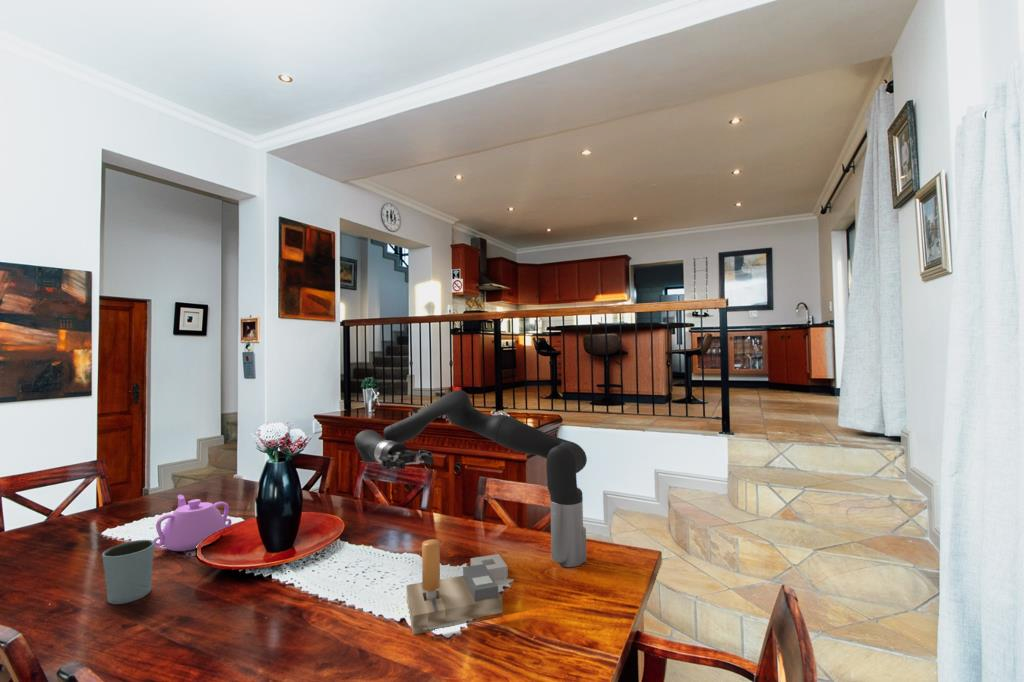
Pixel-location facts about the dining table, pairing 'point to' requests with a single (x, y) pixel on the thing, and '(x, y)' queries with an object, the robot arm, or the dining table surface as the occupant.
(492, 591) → the block
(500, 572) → the awl stand
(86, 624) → the dining table surface
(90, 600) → the dining table surface
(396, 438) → the robot arm
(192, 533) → the teapot
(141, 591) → the grey cup
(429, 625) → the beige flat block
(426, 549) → the awl
